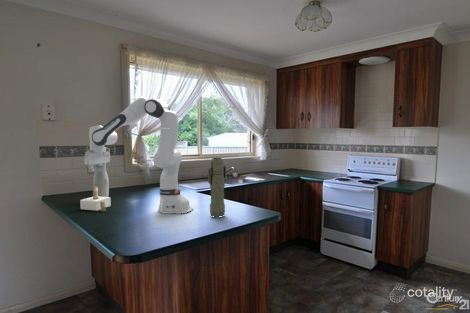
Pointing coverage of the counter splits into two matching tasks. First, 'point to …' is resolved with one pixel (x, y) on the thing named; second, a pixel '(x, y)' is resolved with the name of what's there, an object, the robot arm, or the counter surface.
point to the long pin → (95, 193)
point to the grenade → (217, 186)
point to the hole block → (94, 203)
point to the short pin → (103, 206)
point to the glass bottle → (101, 180)
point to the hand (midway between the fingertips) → (98, 170)
